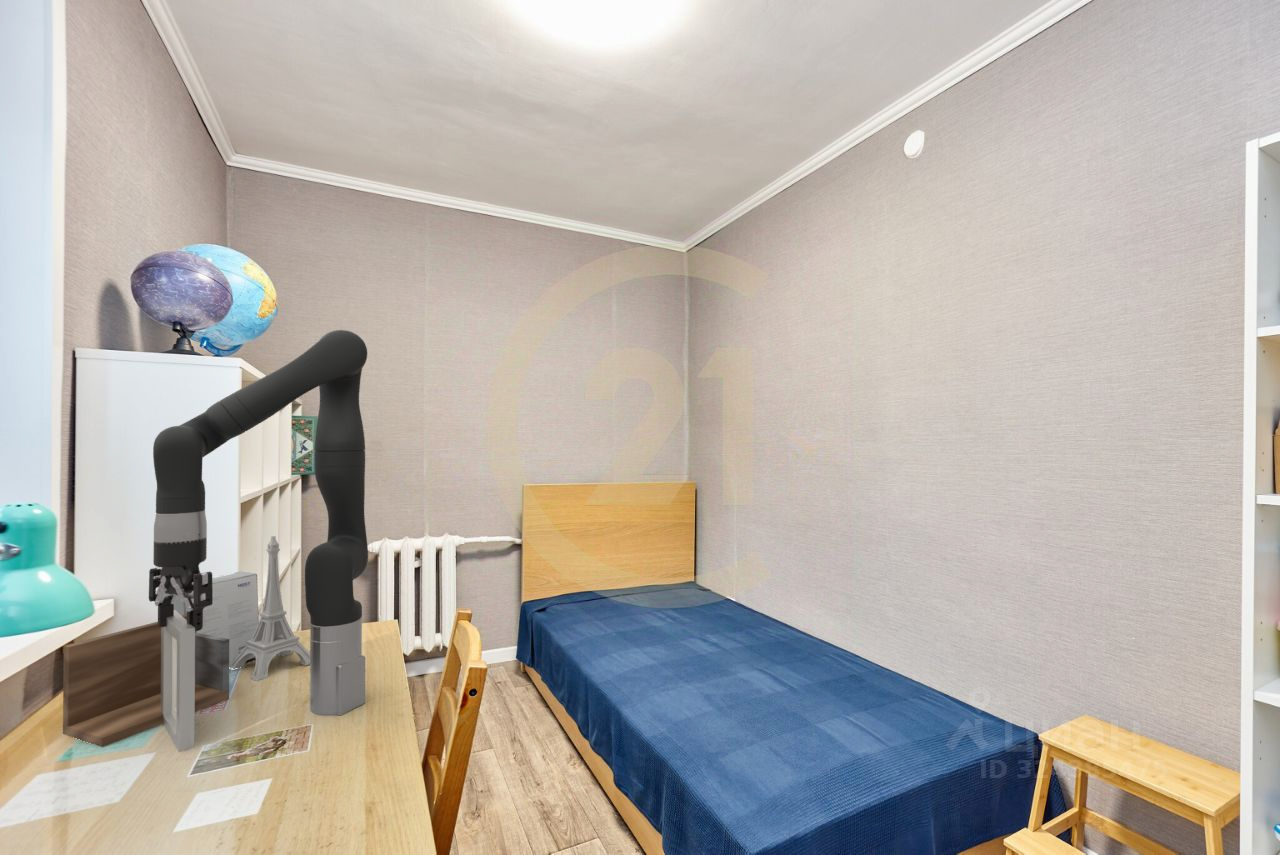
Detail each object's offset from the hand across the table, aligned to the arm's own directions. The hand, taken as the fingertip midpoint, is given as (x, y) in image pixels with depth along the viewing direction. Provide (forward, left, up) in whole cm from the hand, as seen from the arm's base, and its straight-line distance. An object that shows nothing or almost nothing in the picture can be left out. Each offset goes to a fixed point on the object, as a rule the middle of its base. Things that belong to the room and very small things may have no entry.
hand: (179, 628), depth 106 cm
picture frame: (0, 0, -19) cm, 19 cm away
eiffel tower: (+15, -28, -19) cm, 37 cm away
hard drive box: (+26, -23, -19) cm, 39 cm away
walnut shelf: (+12, -2, -19) cm, 22 cm away
